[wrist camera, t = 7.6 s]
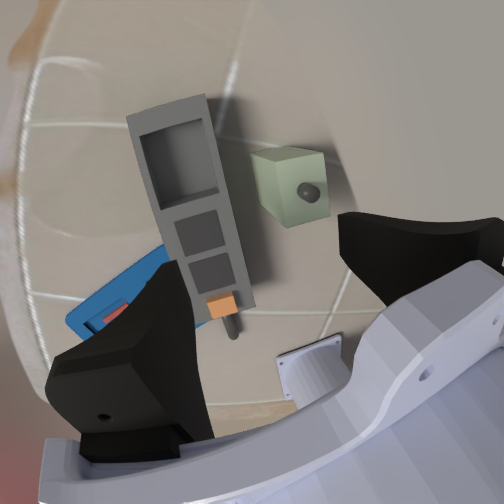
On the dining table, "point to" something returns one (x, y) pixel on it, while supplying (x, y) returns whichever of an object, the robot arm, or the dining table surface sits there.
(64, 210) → the dining table surface
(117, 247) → the dining table surface
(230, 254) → the power strip
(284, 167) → the charger
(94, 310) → the handheld gaming device
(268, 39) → the dining table surface
